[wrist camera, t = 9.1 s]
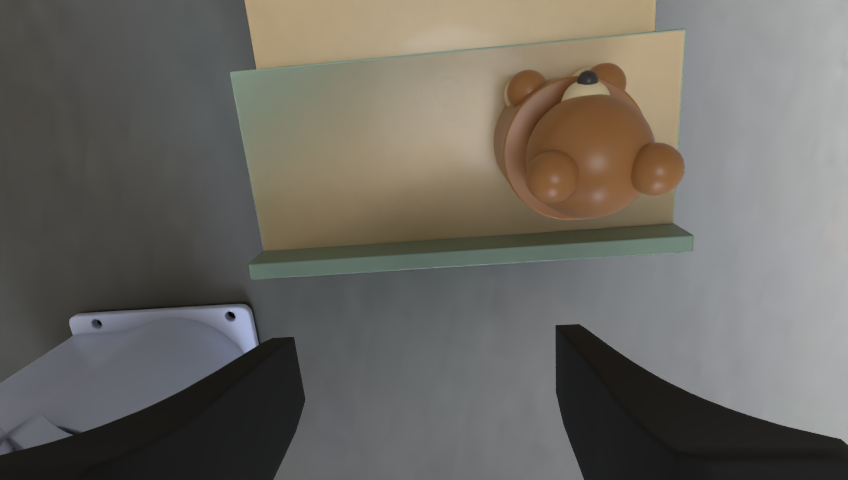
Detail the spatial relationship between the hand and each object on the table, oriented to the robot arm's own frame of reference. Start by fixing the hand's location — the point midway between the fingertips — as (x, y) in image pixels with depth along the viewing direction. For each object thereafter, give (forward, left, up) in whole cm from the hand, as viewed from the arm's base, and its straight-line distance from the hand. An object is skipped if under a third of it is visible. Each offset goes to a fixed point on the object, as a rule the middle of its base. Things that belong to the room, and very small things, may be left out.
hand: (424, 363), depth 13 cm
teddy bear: (+5, +5, -5) cm, 9 cm away
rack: (+1, +8, -10) cm, 13 cm away
